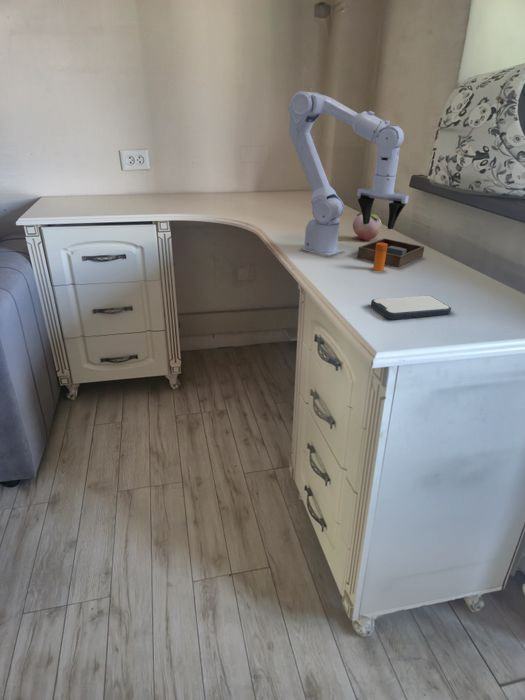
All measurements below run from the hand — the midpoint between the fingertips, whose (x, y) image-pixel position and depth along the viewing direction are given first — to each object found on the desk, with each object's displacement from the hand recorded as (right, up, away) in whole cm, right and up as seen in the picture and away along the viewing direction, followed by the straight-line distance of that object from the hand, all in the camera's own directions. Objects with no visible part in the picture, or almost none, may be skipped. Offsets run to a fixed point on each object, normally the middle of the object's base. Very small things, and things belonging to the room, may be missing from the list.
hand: (378, 226), depth 137 cm
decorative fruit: (+2, +1, +24) cm, 24 cm away
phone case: (0, -26, -29) cm, 39 cm away
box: (+5, -8, +7) cm, 12 cm away
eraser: (+7, -6, +9) cm, 13 cm away
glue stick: (-1, -13, -4) cm, 14 cm away
